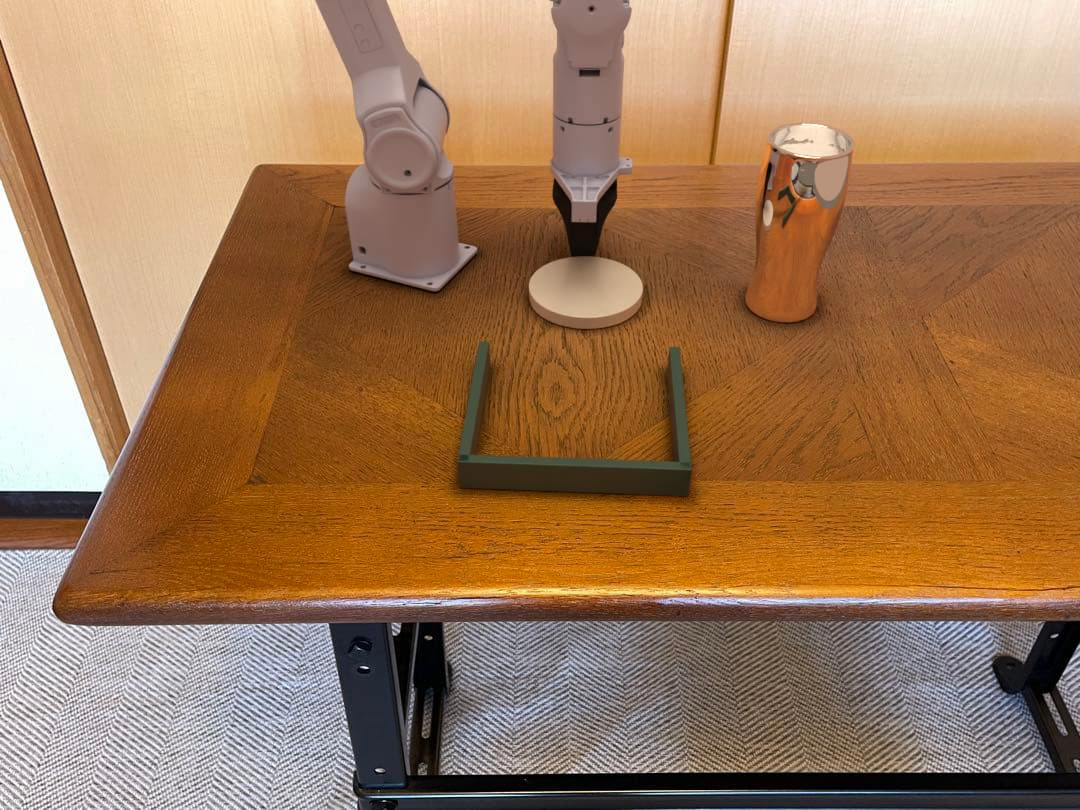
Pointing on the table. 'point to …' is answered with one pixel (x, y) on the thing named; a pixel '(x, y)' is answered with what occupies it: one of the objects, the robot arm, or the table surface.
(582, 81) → the robot arm
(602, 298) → the plate
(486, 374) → the green u-shaped bracket
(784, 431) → the table surface
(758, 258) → the beer glass
